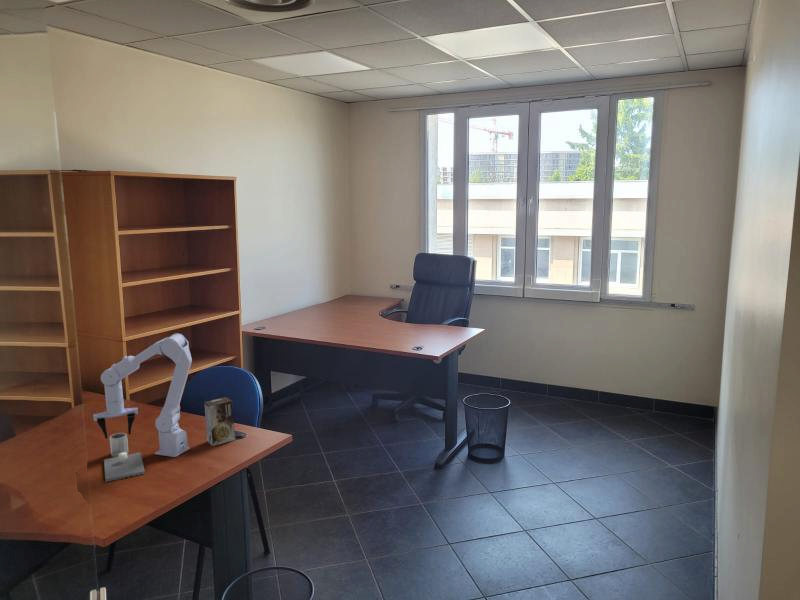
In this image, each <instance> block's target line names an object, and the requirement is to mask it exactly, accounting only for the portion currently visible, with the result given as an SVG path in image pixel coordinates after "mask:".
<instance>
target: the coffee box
mask: <svg viewBox="0 0 800 600" xmlns="http://www.w3.org/2000/svg"><path fill="white" fill-rule="evenodd" d="M203 403H204V406H203V407H204V415H205V416H204V417H205V427H206V438H207V439H206V440H207V443H208V444H210V445H211V446H212V447H215V446H218V445H221V444H222V445H223V444H226V443H230V442H234V441H236V433H235V423H234V421H235V420H234V410H233V409H234V407H233V400H232V399H230V398H228V397H227V396H224V397H220V398H216V399H211V400H207V401H206V400H205V401H204V402H203Z"/></svg>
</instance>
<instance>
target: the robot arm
mask: <svg viewBox="0 0 800 600" xmlns="http://www.w3.org/2000/svg"><path fill="white" fill-rule="evenodd" d="M191 354H192V353H191V351H190V346H189V341H188V340H187V338H186V337H185V336H184V335H183V334H182V333H177V332H176V333H173V334H171V335H170V336H167V337H165V338H163V339H160V340H159V341H156V342H155V343H154V344H151V345H150V346H149V347H147V348H146V349H144V350H142V351H141V352H140V353H138V354H137V355H135V356H134V355H125V356H123V357H121V361H118V362H117V363H113V364H112V365H110V367H109V368H107V369H105V370H104V371H103V372H102V373H101V375H100V381H101V383H102V385H104V393H105V394H104V396H105V404H106V410H105V411H103V412H98V413H94V414H93V421H94V422H96V421H97V425H98V426H99V427H100V429H101V430H102V433H103V435H104V438H105V439H108V432H107V426H106V424H107V423H106V419H110V418H112V419H113V418H118V417H123V416H126V417H127V418H126V419H127V435H131V434H132V433H131V432H132V426H133V423H134V420H135V418H136V415H139V411H138V407H127V408H125V404H124V403H125V402H124V395H123V394H124V393H123V392H124V391H123V385H122V384H123V383H122V380H123V379H124V378H125V379H126V378H127V377H128V376H129V375H131V374H132V373H134V372H136V371H137V370H139V369H140V365H141V363H143V362H145V361H147V360H149V359H150V358H152V357H153V356H155V355H161V356H162V355H165V356H166V357H168V358H169V359H171V360H172V361H173V362H174V364H175V368H174V370H173V374H172V378H171V382H170V385H169V388H168V392H167V394H166V398H165V401H164V405H163V407H162V409H161V411H160V414H159V415H158V417H156V419H155V420H154V421H155V422H154V425H155V428H156V429H157V430H158V442H159V450H157V451H155V452H154V455H158V456H164V457H165V456H166V457H171V458H176V457H178V456H179V455H181V454H183V453H185V452H187V451H188V450H190V447H189V445H188V434H187V432H186V430H183V429H182V428H180V424H179V420H180V419H181V413H180V412H181V411H180V410H181V406H180V404H181V400H182V396H183V393H184V391H185V386H186V383H187V379H188V375H189V373H190V370H191V365H192V362H193V359H192V355H191Z"/></svg>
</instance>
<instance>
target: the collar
mask: <svg viewBox="0 0 800 600" xmlns="http://www.w3.org/2000/svg"><path fill="white" fill-rule="evenodd" d="M128 442H129V441H128V433H125V432H118V433H113V434H111V435H110V436H109V445H110V454H111V458H114V457H118V454H119V453H122V452H126V453H127V455H129V443H128Z"/></svg>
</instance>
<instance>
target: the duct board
mask: <svg viewBox="0 0 800 600" xmlns="http://www.w3.org/2000/svg"><path fill="white" fill-rule="evenodd" d="M103 462H104V463H103V464H104V477H105V480H104V481H105V483H107V482H108V481H109V482H113V480H114V481H118V480H121V479H122V478H123V479H126V478H125V477H128V478H131V477H130V476H132V477H136V475H137V476H141V474H142V475H145V474H146V471H145V467H144V462H143V456H142V452H141V451H140V452H136V453H135V452H134V453H131V454H129V453H128V454H127V453H126V452H122V453H119V454H118V457H110V458H105V459H103ZM123 479H122V480H123Z"/></svg>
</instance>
